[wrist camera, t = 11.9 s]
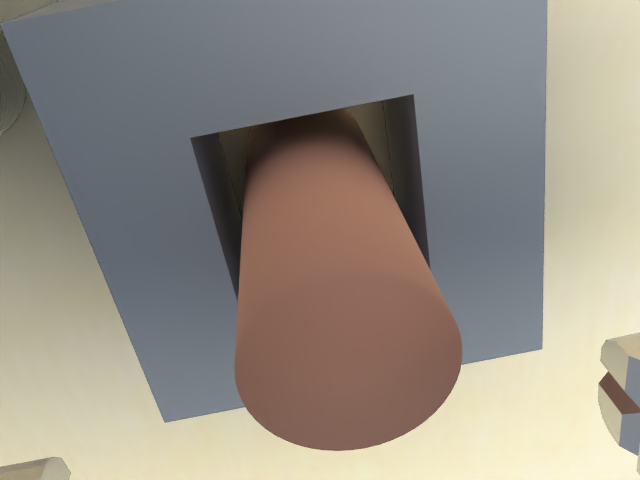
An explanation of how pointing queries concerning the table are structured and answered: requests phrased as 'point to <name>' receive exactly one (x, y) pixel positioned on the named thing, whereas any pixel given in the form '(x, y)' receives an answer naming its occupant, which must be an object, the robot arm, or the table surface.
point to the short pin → (9, 87)
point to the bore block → (278, 104)
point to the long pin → (334, 294)
